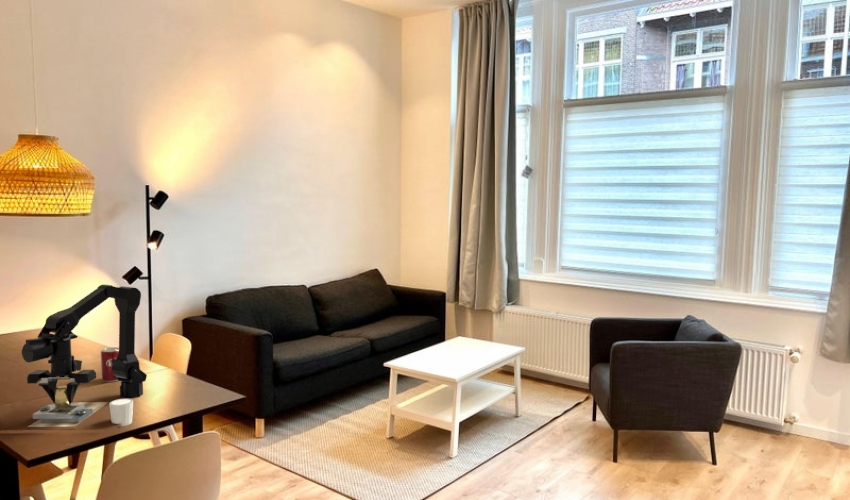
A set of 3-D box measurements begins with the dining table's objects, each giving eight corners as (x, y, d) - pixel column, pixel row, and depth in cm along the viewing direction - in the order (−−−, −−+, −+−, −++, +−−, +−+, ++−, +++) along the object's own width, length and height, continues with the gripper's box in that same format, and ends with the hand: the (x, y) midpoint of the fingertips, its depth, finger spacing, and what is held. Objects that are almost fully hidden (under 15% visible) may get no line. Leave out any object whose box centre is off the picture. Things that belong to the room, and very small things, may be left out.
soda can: (97, 380, 236) (96, 350, 235) (114, 375, 243) (113, 346, 242) (109, 383, 233) (108, 352, 232) (126, 378, 239) (125, 348, 238)
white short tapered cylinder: (137, 419, 197) (137, 398, 196) (128, 427, 190) (127, 405, 189) (116, 419, 196) (115, 398, 196) (105, 427, 190) (104, 405, 189)
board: (108, 405, 210) (108, 402, 210) (74, 429, 188) (74, 426, 188) (66, 405, 209) (66, 402, 209) (27, 429, 187) (27, 426, 187)
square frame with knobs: (93, 413, 199) (92, 402, 199) (78, 423, 190) (78, 412, 190) (49, 413, 198) (48, 402, 198) (32, 423, 190) (32, 412, 189)
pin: (74, 403, 196) (73, 385, 196) (66, 408, 192) (65, 389, 191) (60, 403, 196) (59, 385, 196) (52, 408, 192) (51, 389, 191)
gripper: (103, 348, 201) (105, 394, 202) (45, 348, 200) (47, 394, 202) (86, 357, 190) (88, 406, 191) (24, 357, 189) (27, 406, 190)
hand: (63, 403), depth 194 cm, fingers closed on pin, 4 cm apart
